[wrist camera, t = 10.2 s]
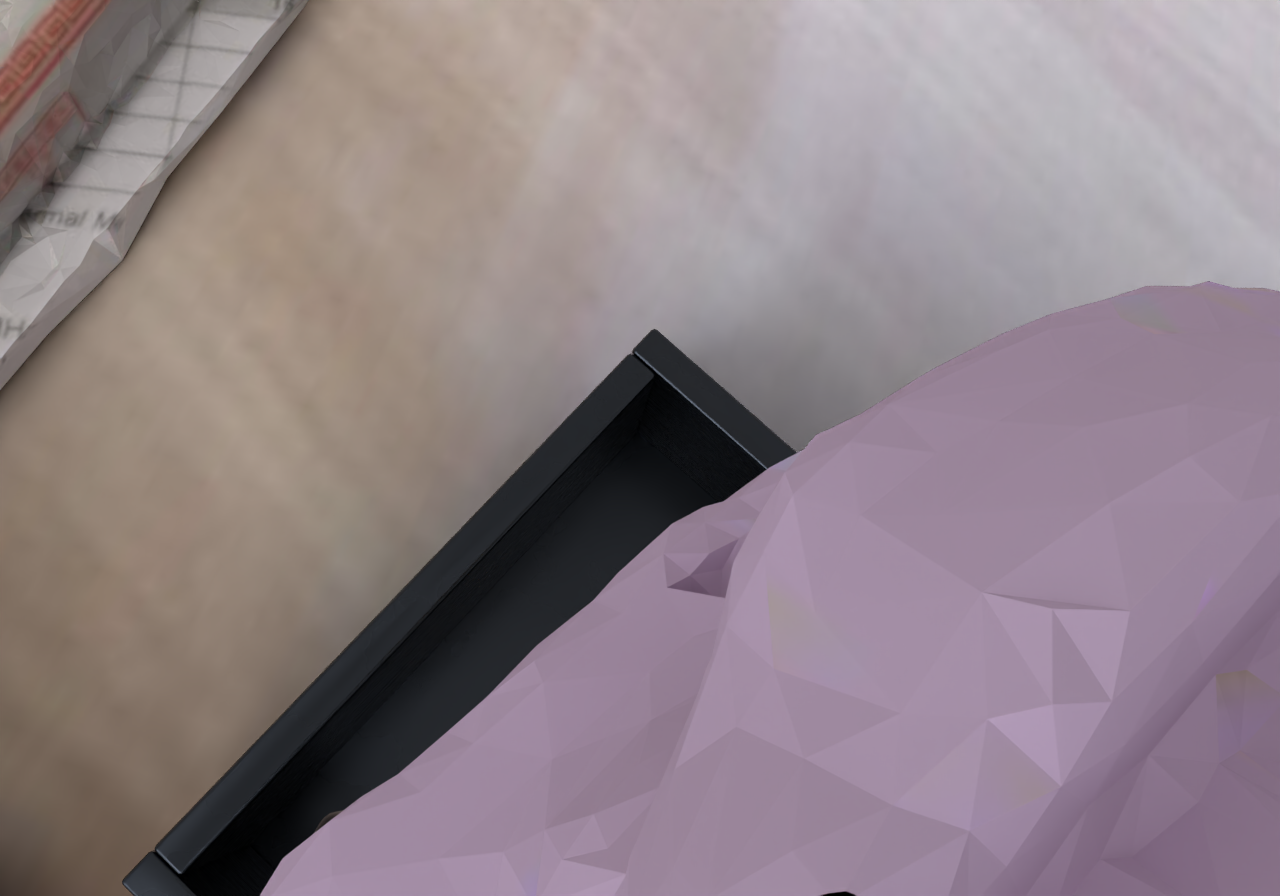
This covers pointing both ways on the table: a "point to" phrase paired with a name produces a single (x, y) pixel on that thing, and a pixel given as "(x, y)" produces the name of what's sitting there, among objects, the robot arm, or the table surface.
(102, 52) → the packaged product
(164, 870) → the open black storage bin
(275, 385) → the table surface
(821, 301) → the table surface
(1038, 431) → the ice cream cone
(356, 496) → the table surface
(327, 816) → the robot arm
